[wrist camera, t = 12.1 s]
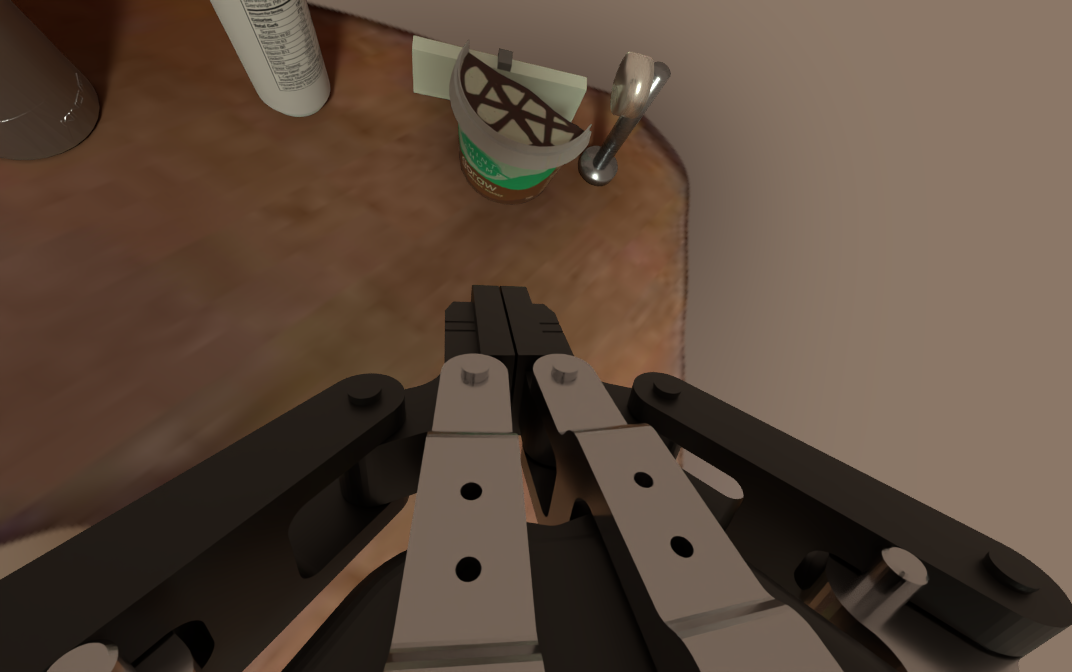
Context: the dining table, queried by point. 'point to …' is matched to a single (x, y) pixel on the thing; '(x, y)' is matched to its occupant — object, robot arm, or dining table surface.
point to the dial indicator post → (624, 113)
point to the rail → (548, 84)
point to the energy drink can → (278, 52)
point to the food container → (507, 133)
